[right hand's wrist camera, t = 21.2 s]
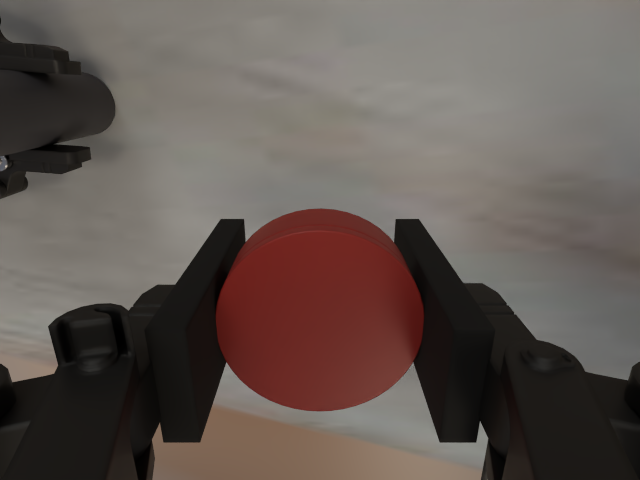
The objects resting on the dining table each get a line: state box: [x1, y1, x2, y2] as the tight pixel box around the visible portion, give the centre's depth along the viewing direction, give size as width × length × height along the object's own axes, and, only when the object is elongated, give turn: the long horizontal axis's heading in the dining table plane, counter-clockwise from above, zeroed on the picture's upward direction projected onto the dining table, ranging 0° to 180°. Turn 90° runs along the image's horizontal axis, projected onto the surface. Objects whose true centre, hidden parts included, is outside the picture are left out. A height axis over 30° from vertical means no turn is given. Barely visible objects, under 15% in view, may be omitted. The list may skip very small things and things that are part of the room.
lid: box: [215, 209, 424, 411], centre depth 11 cm, size 5×5×2 cm
